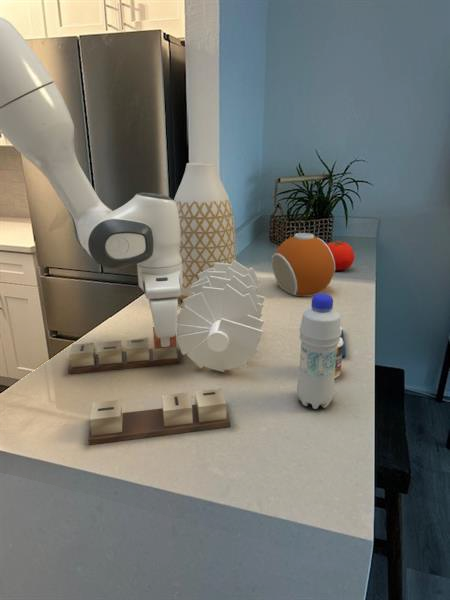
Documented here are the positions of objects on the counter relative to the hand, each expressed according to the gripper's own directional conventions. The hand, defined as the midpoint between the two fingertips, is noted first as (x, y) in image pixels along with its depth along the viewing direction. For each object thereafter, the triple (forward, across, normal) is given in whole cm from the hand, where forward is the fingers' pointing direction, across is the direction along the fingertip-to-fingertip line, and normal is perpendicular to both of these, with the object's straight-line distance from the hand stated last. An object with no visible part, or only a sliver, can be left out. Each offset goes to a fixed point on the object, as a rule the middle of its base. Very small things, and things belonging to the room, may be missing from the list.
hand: (164, 339), depth 90 cm
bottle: (+5, +22, +25) cm, 33 cm away
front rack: (+4, +23, -2) cm, 24 cm away
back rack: (+4, 0, -8) cm, 9 cm away
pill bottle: (+5, +13, +31) cm, 34 cm away
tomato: (+5, -56, +65) cm, 86 cm away
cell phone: (+4, 0, +37) cm, 37 cm away
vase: (+5, -35, +14) cm, 38 cm away
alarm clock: (+5, -37, +45) cm, 58 cm away
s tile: (+1, 0, 0) cm, 1 cm away
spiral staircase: (+5, -1, +13) cm, 13 cm away
